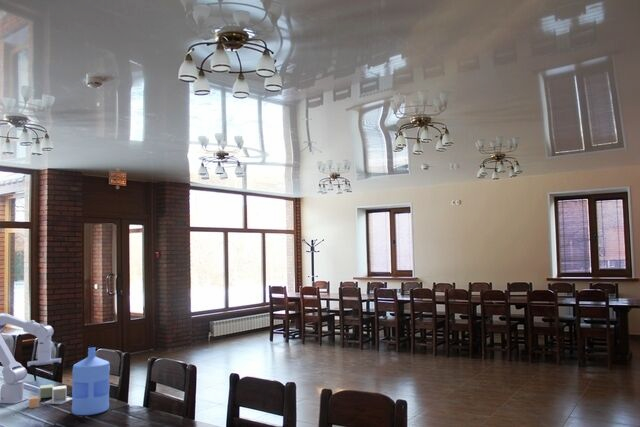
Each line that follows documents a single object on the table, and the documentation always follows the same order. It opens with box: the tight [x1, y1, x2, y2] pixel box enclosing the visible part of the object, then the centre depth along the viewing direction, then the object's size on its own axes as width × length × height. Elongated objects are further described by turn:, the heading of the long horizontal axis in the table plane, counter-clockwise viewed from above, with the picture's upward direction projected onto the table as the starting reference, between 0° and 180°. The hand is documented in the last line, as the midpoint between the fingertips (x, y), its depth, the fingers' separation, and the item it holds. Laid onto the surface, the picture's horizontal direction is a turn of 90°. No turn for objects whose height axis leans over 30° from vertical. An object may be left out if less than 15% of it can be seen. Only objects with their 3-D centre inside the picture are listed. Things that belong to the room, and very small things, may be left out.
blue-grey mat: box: [44, 397, 72, 405], centre depth 255 cm, size 9×9×1 cm
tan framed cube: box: [51, 385, 68, 403], centre depth 255 cm, size 6×6×6 cm
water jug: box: [70, 346, 111, 416], centre depth 239 cm, size 16×16×28 cm
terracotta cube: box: [28, 396, 40, 409], centre depth 246 cm, size 4×4×4 cm
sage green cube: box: [38, 383, 55, 402], centre depth 260 cm, size 6×6×6 cm
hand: (44, 379), depth 255 cm, fingers open, 7 cm apart
